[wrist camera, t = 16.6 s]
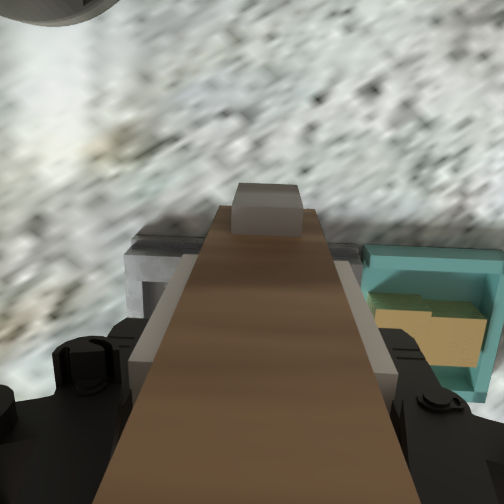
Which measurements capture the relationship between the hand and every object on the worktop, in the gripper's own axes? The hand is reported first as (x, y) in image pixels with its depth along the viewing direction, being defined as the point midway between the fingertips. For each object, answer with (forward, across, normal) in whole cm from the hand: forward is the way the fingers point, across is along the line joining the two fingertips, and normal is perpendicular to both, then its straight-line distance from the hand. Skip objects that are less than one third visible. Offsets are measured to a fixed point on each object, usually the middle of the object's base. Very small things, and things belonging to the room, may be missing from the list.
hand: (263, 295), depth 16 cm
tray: (+20, +13, -10) cm, 26 cm away
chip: (+19, +10, -10) cm, 24 cm away
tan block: (+19, +14, -11) cm, 26 cm away
